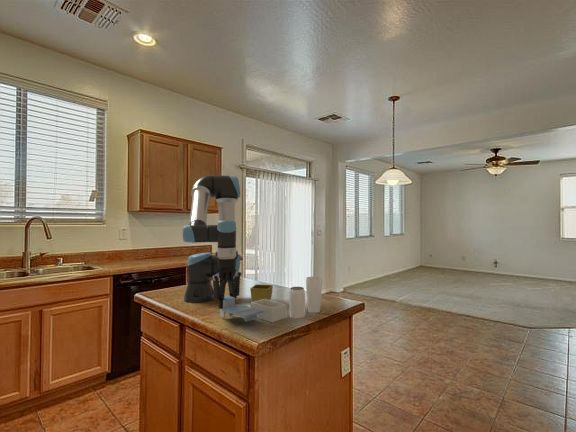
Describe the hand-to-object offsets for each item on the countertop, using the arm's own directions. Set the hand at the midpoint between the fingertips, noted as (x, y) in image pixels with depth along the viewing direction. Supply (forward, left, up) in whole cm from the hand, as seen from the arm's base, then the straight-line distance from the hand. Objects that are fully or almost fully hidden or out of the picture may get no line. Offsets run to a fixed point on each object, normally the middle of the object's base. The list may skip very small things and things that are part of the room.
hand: (226, 315), depth 128 cm
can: (+20, +21, -2) cm, 29 cm away
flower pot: (-4, +23, -2) cm, 23 cm away
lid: (+8, 0, +1) cm, 8 cm away
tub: (+12, +12, -1) cm, 17 cm away
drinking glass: (+21, +31, -2) cm, 37 cm away
